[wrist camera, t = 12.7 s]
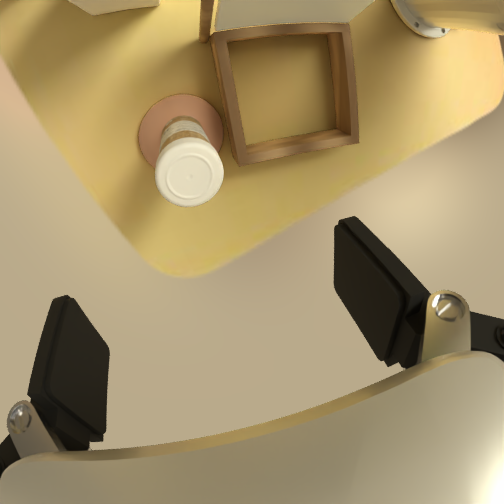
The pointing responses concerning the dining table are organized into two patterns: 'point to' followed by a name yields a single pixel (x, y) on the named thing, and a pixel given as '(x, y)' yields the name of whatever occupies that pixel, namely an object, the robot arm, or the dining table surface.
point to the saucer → (171, 109)
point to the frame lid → (285, 12)
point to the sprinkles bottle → (187, 164)
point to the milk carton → (112, 5)
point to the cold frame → (341, 84)
